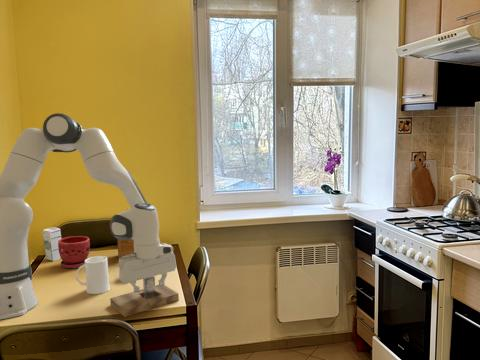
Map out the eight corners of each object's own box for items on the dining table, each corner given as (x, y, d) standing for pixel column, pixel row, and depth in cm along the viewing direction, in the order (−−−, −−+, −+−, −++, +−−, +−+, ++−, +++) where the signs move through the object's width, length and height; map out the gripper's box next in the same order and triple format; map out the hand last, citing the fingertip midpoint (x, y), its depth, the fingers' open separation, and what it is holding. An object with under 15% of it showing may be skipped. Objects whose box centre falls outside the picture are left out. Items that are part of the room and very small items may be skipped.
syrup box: (63, 258, 204) (61, 228, 202) (52, 261, 199) (49, 230, 197) (56, 256, 207) (53, 226, 205) (45, 259, 202) (42, 229, 200)
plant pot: (73, 272, 184) (71, 244, 183) (53, 267, 191) (51, 241, 189) (97, 262, 196) (95, 237, 194) (77, 258, 202) (75, 233, 200)
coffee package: (140, 252, 210) (138, 207, 207) (139, 260, 198) (136, 212, 195) (119, 253, 208) (116, 208, 205) (116, 261, 196) (113, 214, 193)
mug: (77, 297, 157) (75, 265, 155) (76, 289, 165) (74, 259, 163) (111, 291, 162) (109, 260, 160) (108, 284, 169) (106, 254, 168)
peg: (146, 303, 150) (146, 280, 149) (141, 299, 153) (141, 277, 152) (157, 300, 152) (156, 278, 151) (152, 296, 155) (151, 275, 154)
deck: (124, 317, 140) (124, 309, 140) (110, 305, 150) (110, 298, 149) (178, 300, 152) (178, 293, 152) (162, 290, 162) (162, 283, 161)
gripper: (122, 258, 141) (124, 299, 143) (177, 246, 153) (179, 283, 155) (114, 254, 146) (117, 293, 148) (168, 242, 158) (170, 279, 160)
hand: (149, 288), depth 152 cm, fingers open, 8 cm apart
